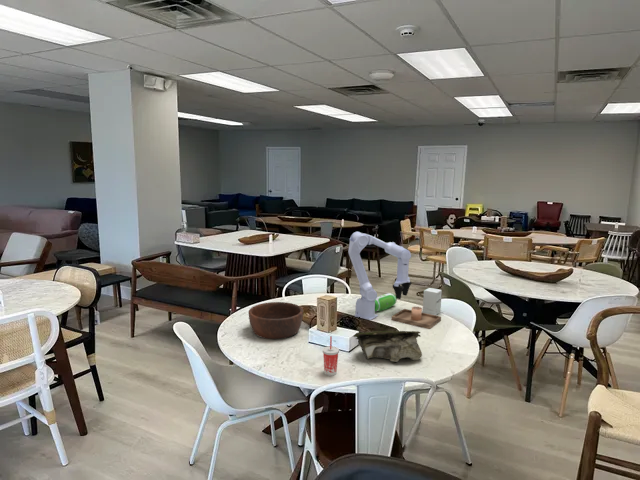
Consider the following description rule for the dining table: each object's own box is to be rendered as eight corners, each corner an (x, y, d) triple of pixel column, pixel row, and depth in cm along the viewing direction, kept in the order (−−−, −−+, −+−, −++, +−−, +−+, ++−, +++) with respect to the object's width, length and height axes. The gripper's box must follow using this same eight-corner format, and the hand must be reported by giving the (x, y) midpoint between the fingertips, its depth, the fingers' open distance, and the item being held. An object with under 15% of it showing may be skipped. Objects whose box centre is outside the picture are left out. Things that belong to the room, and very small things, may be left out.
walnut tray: (391, 320, 209) (391, 316, 209) (404, 312, 221) (404, 308, 221) (429, 329, 198) (429, 325, 197) (440, 320, 210) (441, 316, 209)
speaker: (377, 314, 218) (377, 300, 217) (366, 310, 224) (366, 297, 222) (397, 307, 230) (397, 293, 229) (386, 304, 236) (386, 291, 234)
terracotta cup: (409, 319, 209) (410, 308, 208) (413, 316, 213) (413, 305, 212) (419, 321, 206) (419, 310, 205) (422, 318, 210) (423, 307, 209)
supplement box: (435, 316, 216) (436, 292, 214) (422, 313, 220) (423, 290, 218) (440, 312, 221) (442, 289, 219) (427, 309, 226) (428, 287, 224)
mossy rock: (353, 369, 167) (355, 355, 155) (351, 339, 175) (353, 323, 163) (423, 367, 167) (431, 353, 155) (418, 337, 175) (425, 321, 163)
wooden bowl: (312, 326, 199) (312, 306, 198) (286, 346, 177) (286, 323, 175) (267, 318, 210) (267, 299, 208) (237, 336, 187) (237, 314, 186)
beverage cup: (337, 377, 151) (338, 340, 148) (320, 375, 152) (321, 339, 149) (339, 369, 157) (340, 334, 154) (323, 367, 158) (324, 332, 155)
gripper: (403, 275, 206) (402, 301, 208) (415, 270, 218) (414, 295, 220) (391, 273, 210) (389, 299, 213) (403, 268, 222) (402, 292, 224)
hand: (401, 297), depth 217 cm, fingers open, 7 cm apart
